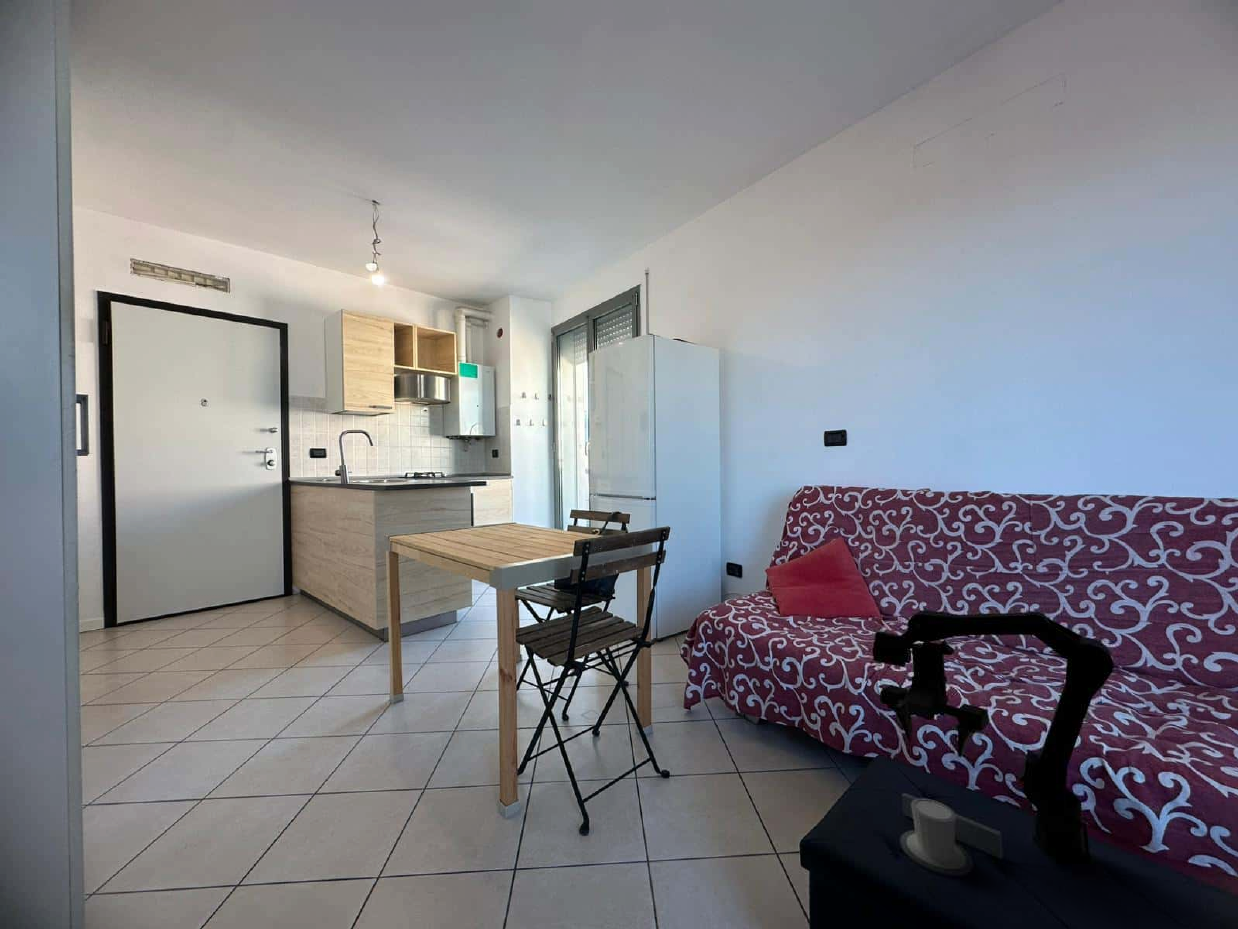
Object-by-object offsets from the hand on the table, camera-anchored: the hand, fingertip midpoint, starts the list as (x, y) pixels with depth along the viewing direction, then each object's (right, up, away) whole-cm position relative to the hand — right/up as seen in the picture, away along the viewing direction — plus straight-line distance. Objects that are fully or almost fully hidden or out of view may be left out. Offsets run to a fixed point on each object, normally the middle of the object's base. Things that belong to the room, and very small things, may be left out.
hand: (934, 748), depth 100 cm
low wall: (-3, -11, -9) cm, 15 cm away
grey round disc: (-9, -11, -14) cm, 20 cm away
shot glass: (-9, -11, -14) cm, 19 cm away
